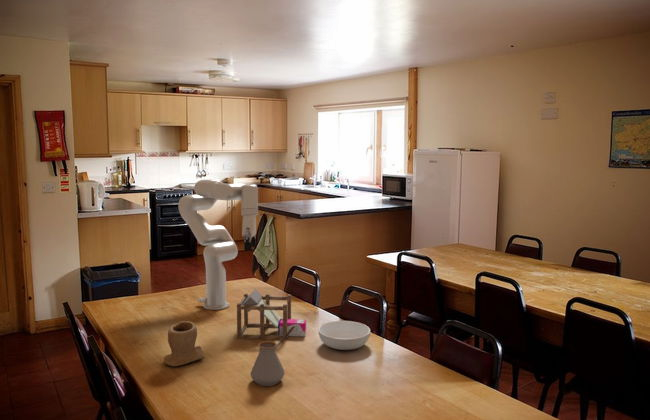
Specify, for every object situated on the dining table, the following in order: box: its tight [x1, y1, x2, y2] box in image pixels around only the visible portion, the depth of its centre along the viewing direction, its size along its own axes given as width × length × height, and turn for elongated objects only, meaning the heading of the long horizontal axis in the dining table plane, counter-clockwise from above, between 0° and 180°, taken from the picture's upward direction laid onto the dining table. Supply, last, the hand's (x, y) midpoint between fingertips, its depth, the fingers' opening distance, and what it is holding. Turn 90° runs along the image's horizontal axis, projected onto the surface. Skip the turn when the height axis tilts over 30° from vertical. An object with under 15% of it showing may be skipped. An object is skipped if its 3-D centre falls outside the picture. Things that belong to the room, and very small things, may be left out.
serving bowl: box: [317, 320, 371, 351], centre depth 213 cm, size 21×21×7 cm
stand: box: [236, 293, 292, 340], centre depth 227 cm, size 21×16×14 cm
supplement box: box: [277, 318, 307, 337], centre depth 225 cm, size 6×6×12 cm
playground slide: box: [243, 288, 282, 329], centre depth 226 cm, size 17×13×5 cm
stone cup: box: [162, 320, 205, 367], centre depth 195 cm, size 15×12×15 cm
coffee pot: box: [250, 326, 297, 387], centre depth 183 cm, size 21×12×15 cm, turn 147°
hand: (250, 248), depth 244 cm, fingers open, 9 cm apart
